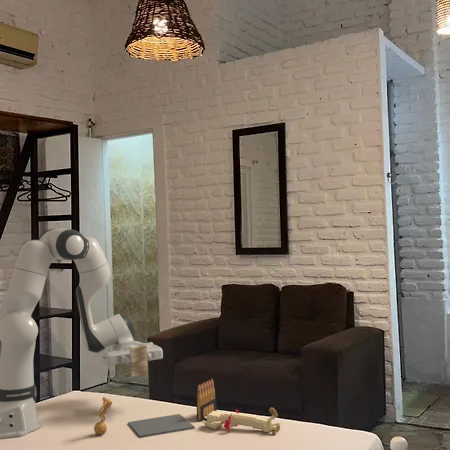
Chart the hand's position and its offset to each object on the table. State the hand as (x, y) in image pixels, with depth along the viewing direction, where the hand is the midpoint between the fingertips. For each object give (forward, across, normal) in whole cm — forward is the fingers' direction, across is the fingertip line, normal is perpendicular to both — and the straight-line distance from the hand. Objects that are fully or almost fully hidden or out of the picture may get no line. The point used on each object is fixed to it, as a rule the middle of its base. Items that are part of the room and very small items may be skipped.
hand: (139, 359), depth 212 cm
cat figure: (+29, +24, +20) cm, 43 cm away
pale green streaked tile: (-1, 0, +6) cm, 6 cm away
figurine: (+12, -16, +20) cm, 28 cm away
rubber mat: (+13, +3, +20) cm, 24 cm away
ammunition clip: (+11, +20, +20) cm, 30 cm away
